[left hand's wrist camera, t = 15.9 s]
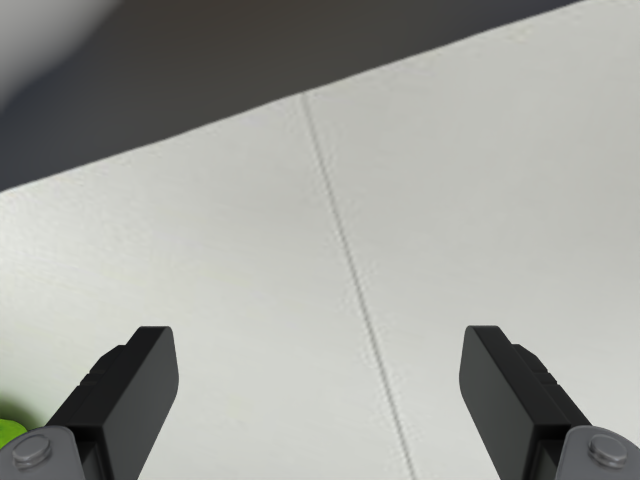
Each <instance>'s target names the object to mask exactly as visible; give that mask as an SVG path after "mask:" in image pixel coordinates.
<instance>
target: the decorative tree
mask: <svg viewBox="0 0 640 480" xmlns="http://www.w3.org/2000/svg"><path fill="white" fill-rule="evenodd" d="M25 432H27V430H26V428H25V427H24V426H22V425H21V424H19V423H17V422H16V421H12V420H4V419H0V449H1V448H2V447H3V446H4V445H6V444H7V443H8V442H9V441H11V440H13V439H14V438H16V437H18V436H19V435H21V434H23V433H25Z"/></svg>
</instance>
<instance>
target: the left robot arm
mask: <svg viewBox="0 0 640 480" xmlns="http://www.w3.org/2000/svg"><path fill="white" fill-rule="evenodd" d="M178 383H179V374H178V366H177V359H176V352H175V345H174V338H173V332H172V329H171V328H170V327H169V326H141V327H139V328H138V329H137V331H136V332H135V333H134V335H133V336H132V337H131V338H130V340H129V341H128V342H127V344H126V345H118V346H116V347H115V348H114V349H112V350H111V351H109V352H108V353H106V354H105V355H103V356H102V357H101V358H100V359H99V360H98V361H97V362H96V364H95V365H94V366H93V367H92V369H91V370H90V373H89V374H87V375H86V376H85V377H84V378H83V380H82V381H81V382H80V386H77V387H76V388H75V389H74V391H73V392H72V393H71V394H70V396H69V397H68V398H67V399H66V400H65V402H64V403H63V404H62V405H61V407H60V408H59V409H58V410H57V412H56V413H55V414H54V415H53V416H52V418H51V419H50V420H49V421H48V423H47V424H46V425H45V426H44V427H40V428H36V429H33V430H30V431H28V432H25V433H23V434H21V435H19V436H18V437H16V438H14V439H13V440H11V441H9V442H8V443H7V444H6V445H4V446H3V447H2V448H1V449H0V480H137V479H138V477H139V475H140V473H141V470H142V468H143V466H144V464H145V462H146V460H147V458H148V455H149V453H150V451H151V449H152V447H153V445H154V443H155V440H156V438H157V436H158V434H159V432H160V430H161V428H162V425H163V423H164V421H165V419H166V417H167V415H168V413H169V410H170V408H171V406H172V404H173V402H174V400H175V397H176V394H177V390H178ZM459 384H460V390H461V394H462V397H463V399H464V401H465V404H466V406H467V408H468V410H469V412H470V414H471V417H472V419H473V421H474V423H475V425H476V427H477V430H478V432H479V434H480V436H481V438H482V440H483V443H484V445H485V447H486V449H487V451H488V453H489V456H490V458H491V460H492V462H493V464H494V466H495V469H496V471H497V473H498V475H499V477H500V479H501V480H640V449H639V448H638V447H637V446H636V445H634V444H633V443H632V442H631V441H629V440H627V439H626V438H624V437H622V436H621V435H619V434H617V433H615V432H612V431H610V430H607V429H604V428H600V427H596V426H592V424H591V423H590V422H589V421H588V419H587V418H586V417H585V416H584V414H583V413H582V412H581V411H580V409H579V408H578V407H577V406H576V405H575V403H574V402H573V401H572V400H571V398H570V397H569V396H568V395H567V393H566V392H565V391H564V390H563V388H562V387H561V386H560V385H557V381H556V380H555V379H554V377H553V376H552V375H551V374H550V373H548V370H547V369H546V367H545V366H544V365H543V364H542V362H541V361H540V360H539V359H538V358H537V356H535V355H534V354H533V353H531V352H530V351H528V350H527V349H525V348H524V347H522V346H521V345H519V344H511V342H510V341H509V340H508V338H507V337H506V336H505V334H504V333H503V332H502V330H501V329H500V328H499V327H498V326H468V327H467V328H466V331H465V335H464V343H463V350H462V357H461V364H460V372H459Z"/></svg>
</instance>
